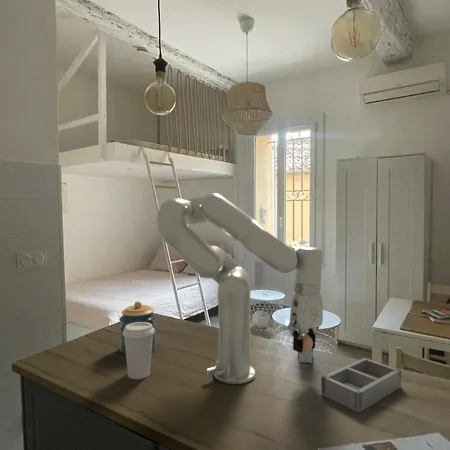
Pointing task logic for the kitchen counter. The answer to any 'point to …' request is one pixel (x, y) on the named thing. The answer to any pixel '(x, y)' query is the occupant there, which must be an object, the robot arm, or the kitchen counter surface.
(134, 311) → the canister
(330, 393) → the divided tray
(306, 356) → the candy bar box
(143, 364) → the coffee cup
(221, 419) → the kitchen counter surface
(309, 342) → the ball
